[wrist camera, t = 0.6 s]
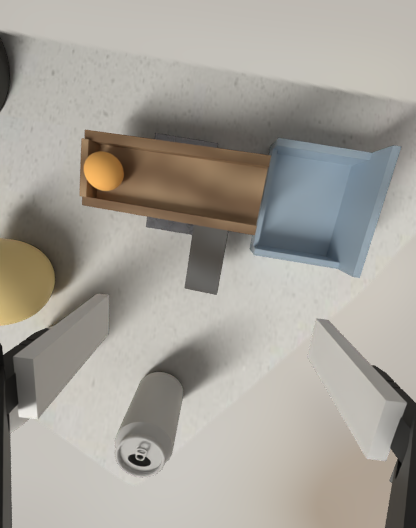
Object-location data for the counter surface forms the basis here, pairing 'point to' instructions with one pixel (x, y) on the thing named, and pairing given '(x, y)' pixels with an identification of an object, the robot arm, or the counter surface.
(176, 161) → the seesaw chute
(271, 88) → the counter surface
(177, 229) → the pivot stand
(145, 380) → the can
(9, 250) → the sculpture
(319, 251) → the box
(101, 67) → the counter surface
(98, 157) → the ball
